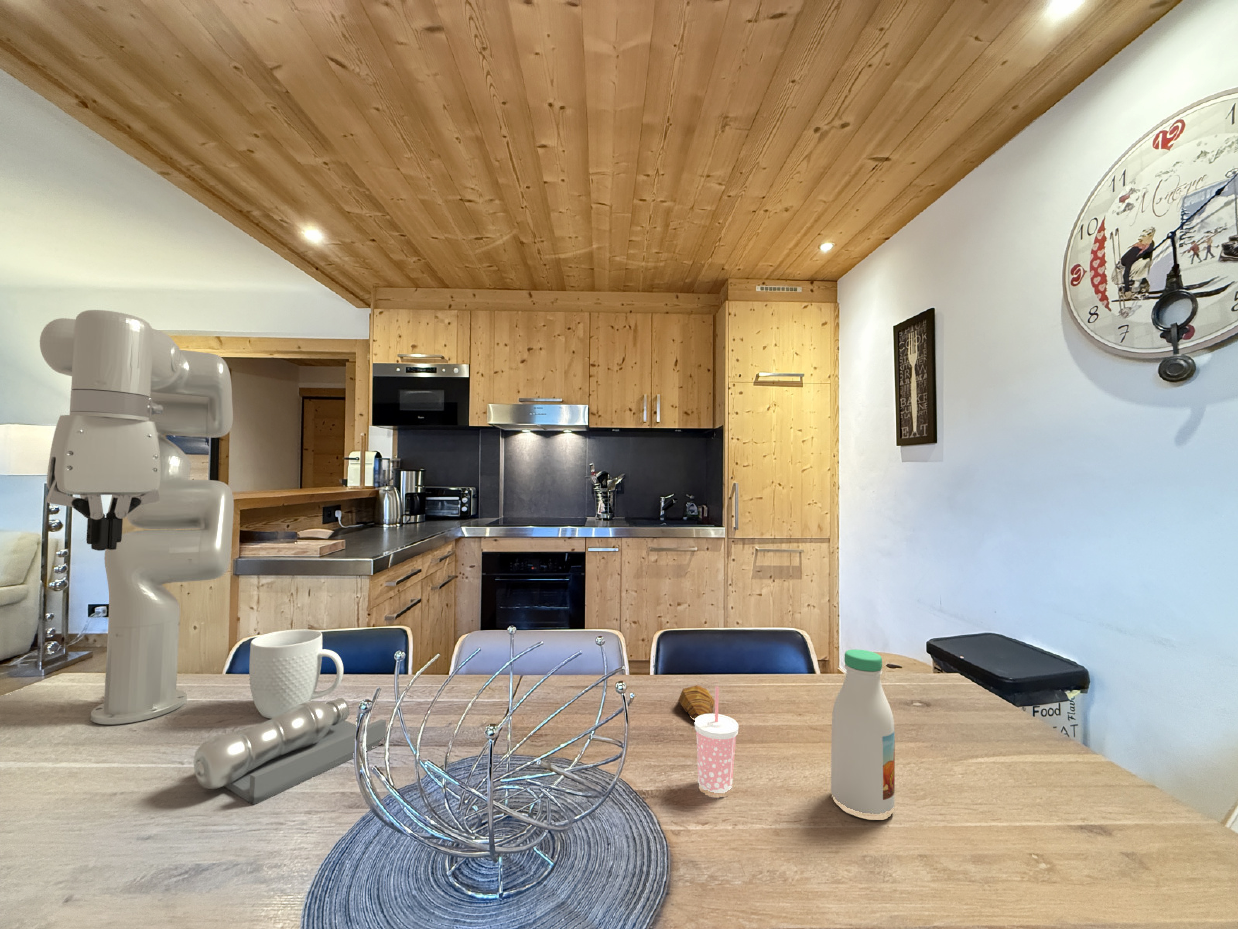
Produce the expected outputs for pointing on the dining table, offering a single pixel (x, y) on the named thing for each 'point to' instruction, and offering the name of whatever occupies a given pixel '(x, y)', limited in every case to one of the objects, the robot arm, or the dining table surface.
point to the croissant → (696, 701)
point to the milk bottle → (863, 738)
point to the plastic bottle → (265, 741)
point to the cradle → (304, 762)
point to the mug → (288, 670)
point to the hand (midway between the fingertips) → (103, 549)
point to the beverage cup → (715, 749)
